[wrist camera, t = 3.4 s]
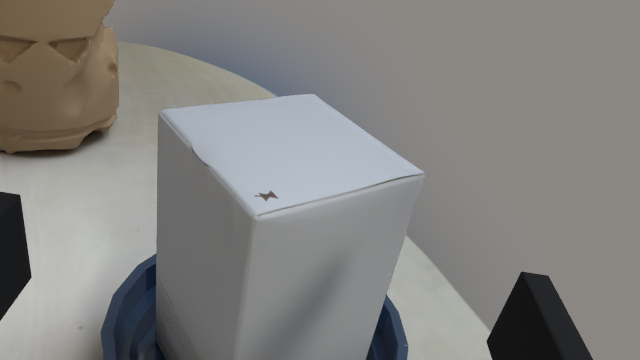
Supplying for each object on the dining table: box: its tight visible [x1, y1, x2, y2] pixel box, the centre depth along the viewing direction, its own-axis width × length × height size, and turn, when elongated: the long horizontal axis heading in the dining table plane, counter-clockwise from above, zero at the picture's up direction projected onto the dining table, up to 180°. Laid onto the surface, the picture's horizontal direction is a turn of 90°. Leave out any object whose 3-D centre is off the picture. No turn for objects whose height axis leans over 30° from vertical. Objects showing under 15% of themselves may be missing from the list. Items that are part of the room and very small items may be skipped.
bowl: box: [101, 253, 408, 360], centre depth 30 cm, size 16×16×4 cm
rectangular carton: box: [155, 94, 425, 360], centre depth 27 cm, size 9×9×15 cm
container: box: [0, 0, 119, 154], centre depth 45 cm, size 13×13×18 cm
